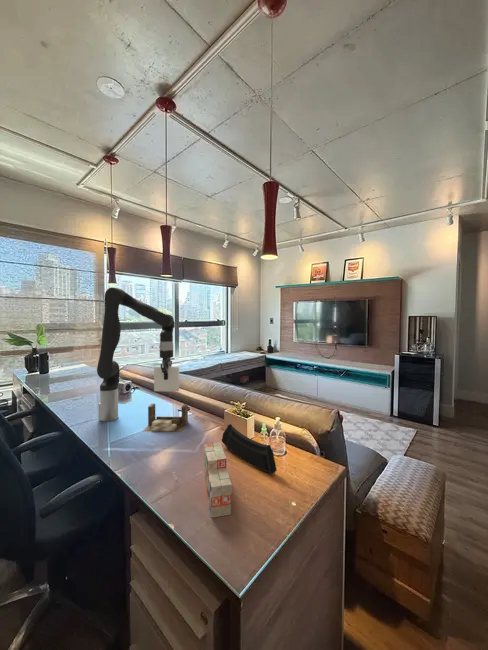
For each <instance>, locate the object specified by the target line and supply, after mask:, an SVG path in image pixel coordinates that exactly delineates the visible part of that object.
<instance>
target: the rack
mask: <svg viewBox="0 0 488 650" xmlns="http://www.w3.org/2000/svg"><path fill="white" fill-rule="evenodd" d="M188 405H189V404H188V403H184V404H183V405H182V406H181V416H156V403H151V404H149V405H148V406H147V416H148V417H147V421H148V422H147V424H148V425H147V426H146V427H145V428H144V429H143V430H142V432H150V433H151V432H155V433H157V432H161V433H162V432H164V433H182V432H183V431H184V429H185V427H186V426H187V425H188V423H189V414H188V413H189V409H188V408H189V407H188ZM154 420H172V424H177V428H176V429H175V431H151V426H152V422H153V421H154Z"/></svg>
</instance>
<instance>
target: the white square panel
mask: <svg viewBox="0 0 488 650" xmlns="http://www.w3.org/2000/svg"><path fill="white" fill-rule="evenodd" d="M166 368H167V367H166ZM153 391H154V392H180V366H169V369H168V380H164V373H162V370H161V366H160V365H159V366H158V365H156V366H153Z"/></svg>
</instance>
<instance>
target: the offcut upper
mask: <svg viewBox="0 0 488 650" xmlns="http://www.w3.org/2000/svg"><path fill="white" fill-rule="evenodd" d="M171 424H172V420H154V421H153V422H152V427H170V426H171Z"/></svg>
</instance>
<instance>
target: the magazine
mask: <svg viewBox="0 0 488 650" xmlns="http://www.w3.org/2000/svg"><path fill="white" fill-rule="evenodd" d="M221 442H222V443H223V445H224V446H226V448H227V450H230V451H231V452H232V453H233V454H234V455H235V456H237V457H238V458H239V459H240V460H242V461H244V462H245V463H247V464H249V465H250V466H252V467H254V468H257V469H260V470H262V471H263V472H266V473H268V474H270V475H273V474H275V473H276V472H277V465H276V464H277V463H276V459H275V454H274V451H273V448H272V447H271V446H272V445H271V444H263V443H261V442H258V441H256V440H254V439H252V438H250V437H248V436H246V435H244V434H243V433H242V432H240V431H239V430H238V429H236V428H235V427H234V426H233V425H232V423H229V424H228V425H227V427H226V428H225V429H224V432H222V437H221Z"/></svg>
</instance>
